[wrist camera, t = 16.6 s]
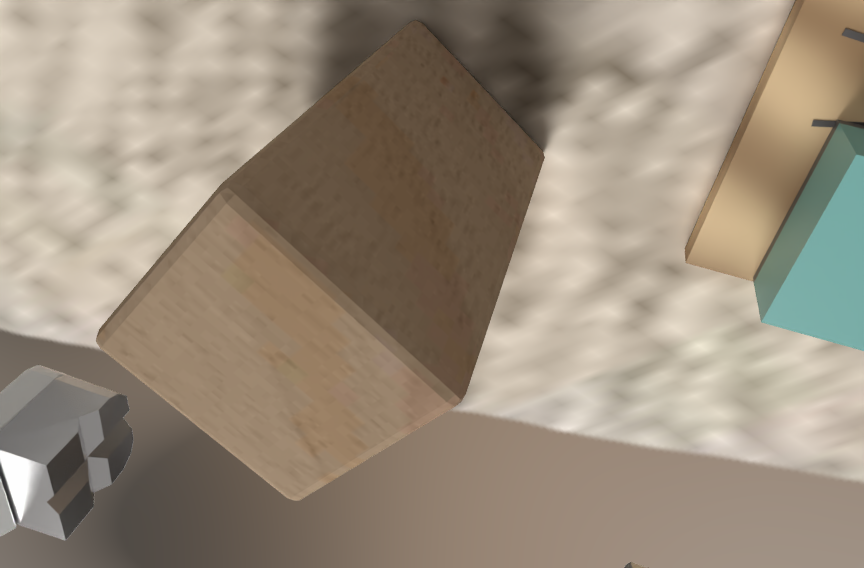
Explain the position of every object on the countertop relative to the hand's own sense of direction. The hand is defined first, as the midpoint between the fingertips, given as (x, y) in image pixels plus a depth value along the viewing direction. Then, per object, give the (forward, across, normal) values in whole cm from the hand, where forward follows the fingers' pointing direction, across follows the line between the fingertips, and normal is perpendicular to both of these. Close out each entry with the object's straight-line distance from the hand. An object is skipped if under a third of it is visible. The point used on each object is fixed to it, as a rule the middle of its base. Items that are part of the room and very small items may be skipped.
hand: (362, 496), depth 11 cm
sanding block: (+28, -15, +5) cm, 32 cm away
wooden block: (+29, +6, +8) cm, 31 cm away
